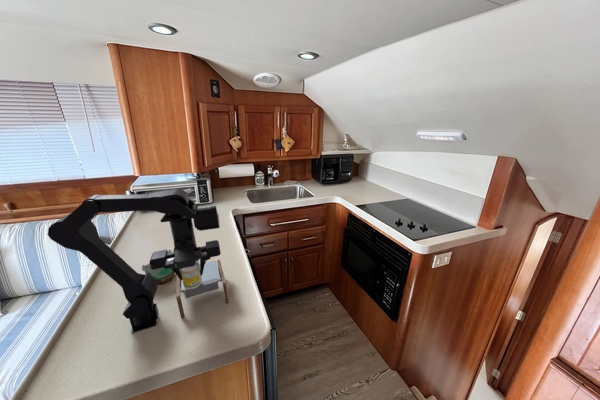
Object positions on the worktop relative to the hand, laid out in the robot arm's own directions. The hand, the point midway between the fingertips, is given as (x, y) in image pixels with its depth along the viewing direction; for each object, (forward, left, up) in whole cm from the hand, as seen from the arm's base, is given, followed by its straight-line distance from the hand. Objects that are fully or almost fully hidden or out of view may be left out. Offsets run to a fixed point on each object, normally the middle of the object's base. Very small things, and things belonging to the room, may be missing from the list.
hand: (191, 277), depth 72 cm
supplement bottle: (0, 0, -3) cm, 3 cm away
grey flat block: (+2, +6, -6) cm, 9 cm away
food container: (-10, +22, -13) cm, 28 cm away
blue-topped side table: (+2, +6, -13) cm, 14 cm away
